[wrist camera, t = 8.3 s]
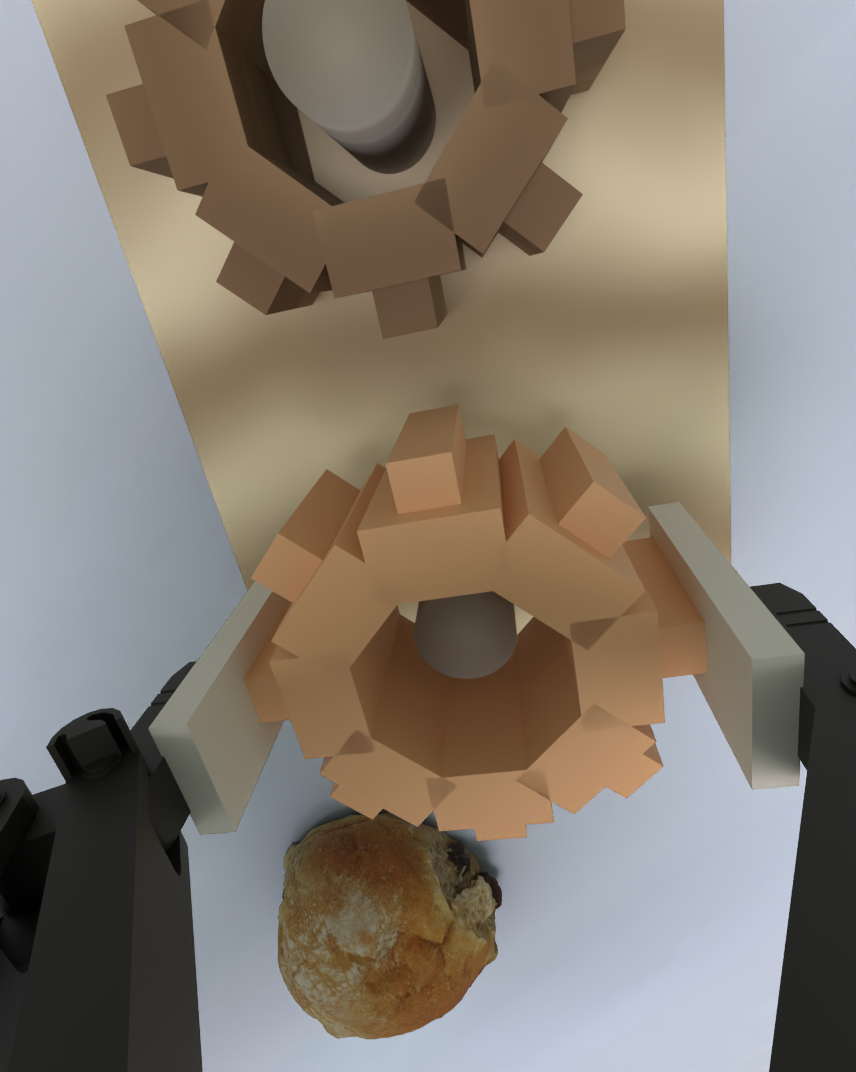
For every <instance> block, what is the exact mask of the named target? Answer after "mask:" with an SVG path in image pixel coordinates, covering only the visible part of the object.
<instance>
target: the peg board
mask: <svg viewBox="0 0 856 1072" xmlns="http://www.w3.org/2000/svg"><path fill="white" fill-rule="evenodd" d="M32 3H33V5H34V8H35V11H36V14H37V16H38V19H39V22H40V25H41V27H42V30H43V33H44V35H45V38H46V41H47V44H48V46H49V49H50V52H51V55H52V57H53V60H54V63H55V66H56V68H57V71H58V74H59V76H60V79H61V82H62V85H63V87H64V90H65V93H66V96H67V98H68V101H69V104H70V107H71V109H72V112H73V115H74V117H75V120H76V123H77V126H78V128H79V131H80V134H81V137H82V139H83V142H84V145H85V148H86V150H87V153H88V156H89V159H90V161H91V164H92V167H93V169H94V172H95V175H96V178H97V180H98V183H99V186H100V189H101V191H102V194H103V197H104V200H105V202H106V205H107V208H108V210H109V213H110V216H111V219H112V221H113V224H114V227H115V230H116V232H117V235H118V238H119V241H120V243H121V246H122V249H123V251H124V254H125V257H126V260H127V262H128V265H129V268H130V271H131V273H132V276H133V279H134V282H135V284H136V287H137V290H138V292H139V295H140V298H141V301H142V303H143V306H144V309H145V312H146V314H147V317H148V320H149V323H150V325H151V328H152V331H153V333H154V336H155V339H156V342H157V344H158V347H159V350H160V353H161V355H162V358H163V361H164V364H165V366H166V369H167V372H168V374H169V377H170V380H171V383H172V385H173V388H174V391H175V394H176V396H177V399H178V402H179V405H180V407H181V410H182V413H183V415H184V418H185V421H186V424H187V426H188V429H189V432H190V435H191V437H192V440H193V443H194V446H195V448H196V451H197V454H198V457H199V459H200V462H201V465H202V467H203V470H204V473H205V476H206V478H207V481H208V484H209V487H210V489H211V492H212V495H213V498H214V500H215V503H216V506H217V508H218V511H219V514H220V517H221V519H222V522H223V525H224V528H225V530H226V533H227V536H228V539H229V541H230V544H231V547H232V549H233V552H234V555H235V558H236V560H237V563H238V566H239V569H240V571H241V574H242V577H243V580H244V582H245V585H246V588H247V590H249V589H250V587H251V586H252V585H253V583H254V582H255V581H254V580H253V579H251V577H252V575H253V573H254V572H255V570H256V569H257V567H258V565H259V564H260V562H261V560H262V559H263V557H264V555H265V554H266V552H267V550H268V549H269V547H270V545H271V544H272V542H273V540H274V539H275V537H276V536H277V534H278V532H279V531H280V530H281V528H282V527H283V526H284V524H285V523H286V522H287V521H288V519H289V518H290V517H291V515H292V514H293V513H294V511H295V510H296V509H297V507H298V506H299V505H300V503H301V502H302V501H303V499H304V498H305V497H306V495H307V494H308V493H309V491H310V490H311V489H312V487H313V486H314V485H315V483H316V482H317V481H318V479H319V478H320V477H321V476H322V474H323V473H324V472H325V470H326V469H327V470H329V471H331V472H332V473H334V474H335V475H337V476H338V477H340V478H342V479H343V480H345V481H346V482H348V483H349V484H351V485H353V486H354V487H356V488H357V489H359V490H360V489H361V487H362V486H363V484H364V483H365V481H366V480H367V478H368V477H369V475H370V474H371V472H372V471H373V469H374V468H375V466H376V464H377V463H379V464H380V465H382V466H383V467H385V468H386V462H387V459H388V457H389V455H390V453H391V451H392V449H393V447H394V445H395V443H396V441H397V439H398V437H399V434H400V432H401V430H402V428H403V426H404V424H405V422H406V420H407V418H408V416H409V414H410V413H415V412H420V411H425V410H430V409H436V408H441V407H446V406H451V405H457V404H459V407H460V413H461V418H462V423H463V429H464V434H465V439H471V438H476V437H482V436H487V435H493V434H495V439H496V445H497V451H498V457H499V459H500V457H501V456H502V455H503V453H504V452H505V451H506V449H507V448H508V447H509V445H510V444H511V443H512V441H513V440H514V439H516V440H518V441H519V442H521V443H522V444H524V445H525V446H527V447H528V448H529V449H531V450H532V451H534V452H535V453H537V454H538V455H540V456H541V457H542V455H543V454H544V453H545V451H546V450H547V449H548V448H549V446H550V445H551V444H552V442H553V441H554V440H555V439H556V437H557V436H558V435H559V433H560V432H561V431H562V430H563V428H564V427H565V426H566V427H567V428H568V429H570V430H571V431H573V432H574V433H576V434H577V435H578V436H580V437H581V438H583V439H584V440H586V441H587V442H588V443H590V444H591V445H593V446H594V447H596V448H597V449H598V450H600V451H601V452H603V453H604V454H605V455H606V456H607V458H608V460H609V461H610V463H611V464H612V466H613V467H614V469H615V470H616V472H617V473H618V475H619V476H620V478H621V480H622V481H623V483H624V484H625V486H626V487H627V489H628V490H629V492H630V493H631V495H632V496H633V498H634V500H635V501H636V503H637V504H638V506H639V507H640V509H641V510H642V512H643V513H644V515H645V516H646V519H645V520H644V521H643V522H642V523H641V524H640V525H639V526H638V528H637V529H636V530H635V531H634V532H633V533H632V534H631V535H630V536H629V537H628V539H627V540H626V541H628V540H635V539H641V538H648V537H650V527H649V513H648V507H649V506H656V505H662V504H669V503H675V502H680V504H681V505H682V506H683V507H684V508H685V510H686V511H687V512H688V513H689V514H690V516H691V517H692V518H693V519H694V521H695V522H696V523H697V524H698V525H699V527H700V528H701V529H702V530H703V531H704V533H705V534H706V535H707V536H708V537H709V539H710V540H711V541H712V542H713V543H714V545H715V546H716V547H717V548H718V549H719V551H720V552H721V553H722V554H723V556H724V557H725V558H726V559H727V560H728V562H729V563H730V564H731V505H730V432H729V359H728V287H727V214H726V141H725V68H724V0H32ZM397 605H398V608H399V612H400V614H401V615H402V616H404V617H406V618H407V619H409V620H411V621H412V622H414V623H415V626H414V641H415V645H416V648H417V650H418V652H419V654H420V656H421V657H422V658H423V660H424V661H425V662H426V663H427V664H428V665H429V666H431V667H432V668H433V669H435V670H436V671H438V672H440V673H442V674H445V675H447V676H451V677H454V678H461V679H472V678H479V677H483V676H486V675H489V674H491V673H493V672H495V671H497V670H498V669H500V668H501V667H502V666H503V665H504V664H505V663H506V662H507V661H508V660H509V659H510V657H511V656H512V654H513V652H514V649H515V647H516V642H517V634H518V633H519V632H520V631H521V630H522V629H523V628H524V627H525V625H526V624H527V623H528V622H529V621H530V620H531V619H532V618H533V616H532V615H530V614H529V613H527V612H525V611H524V610H522V609H521V608H519V607H518V606H516V605H514V604H513V603H511V602H510V601H508V600H506V599H505V598H503V597H502V596H500V595H498V594H497V593H495V592H494V591H490V592H483V593H476V594H468V595H461V596H454V597H447V598H440V599H433V600H425V601H418V602H411V603H404V604H397Z"/></svg>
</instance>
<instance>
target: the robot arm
mask: <svg viewBox="0 0 856 1072" xmlns="http://www.w3.org/2000/svg"><path fill="white" fill-rule="evenodd" d="M648 513H649V527H650V537H653V539H654V540H655V542H656V544H657V545H658V547H659V548H660V550H661V552H662V553H663V555H664V556H665V558H666V560H667V561H668V563H669V565H670V566H671V568H672V569H673V571H674V573H675V574H676V576H677V578H678V579H679V581H680V582H681V584H682V586H683V587H684V589H685V591H686V592H687V594H688V595H689V597H690V599H691V600H692V602H693V603H694V605H695V607H696V608H697V610H698V612H699V613H700V615H701V616H702V618H703V620H704V621H705V634H706V666H707V673H702V674H693V675H694V677H695V679H696V681H697V683H698V685H699V687H700V689H701V691H702V693H703V695H704V697H705V699H706V701H707V703H708V705H709V707H710V708H711V710H712V712H713V714H714V716H715V718H716V720H717V722H718V724H719V726H720V728H721V730H722V732H723V734H724V736H725V738H726V740H727V742H728V744H729V746H730V748H731V749H732V751H733V753H734V755H735V757H736V759H737V761H738V763H739V765H740V767H741V769H742V771H743V773H744V775H745V777H746V779H747V781H748V783H749V785H750V787H751V789H752V790H753V789H765V788H777V787H789V786H799V776H800V760H801V762H802V763H803V765H804V767H805V768H806V770H807V777H806V785H805V793H804V801H803V809H802V817H801V825H800V833H799V841H798V848H797V856H796V864H795V872H794V880H793V888H792V896H791V904H790V912H789V919H788V927H787V935H786V943H785V951H784V959H783V967H782V975H781V982H780V990H779V998H778V1006H777V1014H776V1022H775V1030H774V1038H773V1046H772V1053H771V1061H770V1069H769V1072H856V649H855V647H854V646H853V645H852V644H851V643H850V642H849V641H848V640H847V639H846V638H845V637H844V636H843V635H842V634H841V633H840V632H839V631H838V630H837V629H836V628H835V627H834V626H833V625H832V624H831V623H828V620H827V619H826V618H825V617H824V616H823V615H822V614H821V613H820V611H817V610H816V607H815V606H814V605H813V604H812V603H811V602H810V601H809V600H808V599H807V598H806V597H805V596H804V595H803V594H802V593H800V592H798V591H796V590H793V589H791V588H789V587H787V586H785V585H783V584H781V583H775V584H767V585H760V586H752V587H749V586H748V585H747V583H746V582H745V581H744V580H743V578H742V577H741V576H740V575H739V574H738V572H737V571H736V570H735V569H734V568H733V566H732V565H731V564H730V563H729V562H728V560H727V559H726V558H725V557H724V556H723V554H722V553H721V552H720V551H719V549H718V548H717V547H716V546H715V545H714V543H713V542H712V541H711V540H710V539H709V537H708V536H707V535H706V534H705V533H704V531H703V530H702V529H701V528H700V527H699V525H698V524H697V523H696V522H695V521H694V519H693V518H692V517H691V516H690V514H689V513H688V512H687V511H686V510H685V508H684V507H683V506H682V505H681V504H680V502H675V503H669V504H662V505H656V506H649V507H648ZM288 602H289V600H287V599H285V598H283V597H282V596H280V595H278V594H277V593H275V592H273V591H272V590H270V589H268V588H266V587H265V586H263V585H261V584H260V583H258V582H256V581H255V582H254V583H253V585H252V586H251V587H250V589H249V590H248V591H247V593H246V594H245V596H244V597H243V598H242V600H241V601H240V602H239V604H238V605H237V607H236V608H235V609H234V611H233V612H232V614H231V615H230V616H229V618H228V619H227V620H226V622H225V623H224V625H223V626H222V627H221V629H220V630H219V631H218V633H217V634H216V636H215V637H214V638H213V640H212V641H211V642H210V644H209V645H208V647H207V648H206V649H205V651H204V652H203V653H202V655H201V656H200V658H199V659H198V660H197V661H195V662H189V663H188V664H187V665H185V666H184V667H183V668H182V669H180V670H179V671H178V672H177V673H175V674H174V675H173V676H172V677H171V678H170V679H169V681H168V682H167V683H166V684H165V686H164V687H163V688H162V690H161V691H160V692H161V693H160V694H158V695H157V696H156V698H155V699H154V700H153V702H152V703H151V706H150V707H148V708H147V709H146V711H145V712H144V713H143V715H142V716H141V717H140V719H139V720H138V721H137V723H136V724H135V725H134V727H133V728H132V729H131V731H130V730H129V728H128V726H127V724H126V722H125V720H124V718H123V716H122V714H121V712H120V711H119V710H116V709H114V708H108V709H100V710H96V711H93V712H90V713H87V714H85V715H83V716H81V717H79V718H77V719H75V720H73V721H72V722H70V723H69V724H67V725H66V726H64V727H63V728H61V729H60V730H59V731H58V732H57V733H56V734H55V735H54V736H53V737H52V738H51V740H50V742H49V744H48V745H47V747H46V748H47V749H48V751H49V753H50V755H51V756H52V758H53V760H54V762H55V763H56V765H57V767H58V768H59V770H60V772H61V774H62V775H63V777H64V779H65V781H66V784H64V785H61V786H58V787H55V788H52V789H49V790H46V791H43V792H40V793H37V794H34V795H32V794H31V792H30V790H29V789H28V787H27V786H26V784H25V782H24V781H23V780H21V779H17V778H11V779H5V780H1V781H0V1072H202V1057H201V1041H200V1026H199V1011H198V996H197V980H196V965H195V950H194V935H193V919H192V904H191V889H190V874H189V858H188V846H187V844H186V841H185V839H184V837H183V835H182V833H181V829H182V827H183V825H184V823H185V821H186V820H187V818H188V816H189V814H190V815H191V817H192V819H193V821H194V823H195V825H196V827H197V829H198V831H199V833H200V835H203V834H215V833H227V832H235V831H236V829H237V827H238V824H239V822H240V820H241V817H242V815H243V813H244V811H245V808H246V806H247V804H248V801H249V799H250V797H251V795H252V792H253V790H254V788H255V786H256V783H257V781H258V779H259V776H260V774H261V772H262V770H263V767H264V765H265V763H266V760H267V758H268V756H269V754H270V751H271V749H272V747H273V745H274V742H275V740H276V738H277V735H278V733H279V731H280V729H281V726H282V724H283V722H284V721H275V722H267V723H261V722H260V719H259V717H258V714H257V712H256V709H255V707H254V704H253V702H252V699H251V697H250V694H249V692H248V689H247V687H246V684H245V682H244V679H245V677H246V675H247V673H248V672H249V670H250V668H251V667H252V665H253V663H254V661H255V660H256V658H257V656H258V654H259V653H260V651H261V649H262V647H263V646H264V644H265V642H266V640H267V639H268V637H269V635H270V633H271V632H272V630H273V628H274V626H275V625H276V623H277V621H278V619H279V618H280V616H281V614H282V612H283V611H284V609H285V607H286V606H287V604H288Z"/></svg>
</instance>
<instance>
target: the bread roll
mask: <svg viewBox="0 0 856 1072" xmlns="http://www.w3.org/2000/svg"><path fill="white" fill-rule="evenodd" d="M284 869H285V870H286V873H285V875H284V876H285V882H284V883H283V885H284V887H285V888H284V891H283V897H282V898H283V901H282V903H281V905H280V907H279V916H278V919H279V930H278V963H279V969H280V972H281V974H282V977H283V980H284V982H285V984H286V985H287V988H288V990H289V991H290V993H291V994H292V996H293V998H294V999H295V1001H296V1002H297V1003H298V1004H299V1005H300V1006H301V1008H302V1009H303V1011H305V1012H306V1013H307V1014H309V1015H310V1016H312V1017H313V1018H315V1019H317V1020H318V1021H319V1022H321V1023H322V1025H323V1026H324V1028H325V1030H326V1031H327V1032H328V1033H329V1034H331V1035H332V1036H334V1037H336V1038H337V1039H338V1038H345V1037H359V1038H364V1039H378V1038H388V1037H393V1036H396V1035H402V1034H405V1033H408V1032H412V1031H414V1030H417V1029H419V1028H421V1027H423V1026H425V1025H426V1024H428V1023H430V1022H431V1021H433V1020H435V1019H438V1018H442V1017H443V1016H444V1015H445V1014H446V1013H447V1012H449V1011H450V1010H452V1009H453V1008H454V1007H455V1006H456V1005H457V1004H458V1003H459V1002H460V1001H461V1000H462V998H463V997H464V995H465V993H466V992H467V990H468V988H469V987H471V985H472V983H473V982H474V981H475V979H476V978H477V976H478V975H479V974H480V973H481V972H482V970H483V968H484V967H485V966H486V965H488V964H489V963H491V962H492V961H494V960H495V958H496V956H497V954H498V950H497V945H496V942H495V932H496V926H495V910H496V909H497V908H499V907H500V906H501V903H502V891H501V888H500V886H499V885H498V881H497V880H496V879H495V878H493V877H491V876H489V875H488V873H486V872H482V871H481V869H480V867H479V862H478V860H477V858H476V857H475V855H474V854H473V853H471V852H470V851H469V850H467V849H466V847H465V846H464V845H463V844H462V843H461V842H459V841H456V840H454V839H452V838H451V837H449V836H448V835H447V834H446V833H444V832H443V831H439V829H437V828H435V827H432V826H429V825H426V824H420V825H419V826H418V827H417V826H415V825H413V824H411V823H409V822H407V821H405V820H404V819H402V818H400V817H398V816H396V815H394V814H392V813H388V812H385V813H383V814H377V815H376V817H375V818H374V819H373V820H372V819H371V818H369V817H367V816H365V815H348V816H347V817H344V818H342V819H339V820H335V821H331V822H329V823H326V824H323V825H321V826H319V827H317V828H314V829H312V830H310V832H309V833H308V834H307V835H306V836H305V837H304V839H303V840H302V841H301V842H300V843H299V844H295V843H293V844H292V845H291V846H290V849H289V850H288V852H287V853H286V854H285V857H284Z"/></svg>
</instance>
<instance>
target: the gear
mask: <svg viewBox="0 0 856 1072" xmlns="http://www.w3.org/2000/svg"><path fill="white" fill-rule="evenodd" d="M645 519H646V516H645V515H644V513H643V512H642V510H641V509H640V507H639V506H638V504H637V503H636V501H635V500H634V498H633V496H632V495H631V493H630V492H629V490H628V489H627V487H626V486H625V484H624V483H623V481H622V480H621V478H620V476H619V475H618V473H617V472H616V470H615V469H614V467H613V466H612V464H611V463H610V461H609V460H608V458H607V456H606V455H605V454H604V453H603V452H601V451H600V450H598V449H597V448H596V447H594V446H593V445H591V444H590V443H588V442H587V441H586V440H584V439H583V438H581V437H580V436H578V435H577V434H576V433H574V432H573V431H571V430H570V429H568V428H567V427H566V426H565V427H564V428H563V430H562V431H561V432H560V433H559V435H558V436H557V437H556V439H555V440H554V441H553V442H552V444H551V445H550V446H549V448H548V449H547V450H546V451H545V453H544V454H543V455H542V457H541V456H540V455H538V454H537V453H535V452H534V451H532V450H531V449H529V448H528V447H527V446H525V445H524V444H522V443H521V442H519V441H518V440H516V439H514V440H513V441H512V443H511V444H510V445H509V447H508V448H507V449H506V451H505V452H504V453H503V455H502V456H501V457H500V459H499V457H498V451H497V445H496V439H495V434H493V435H487V436H482V437H476V438H471V439H465V434H464V429H463V423H462V418H461V413H460V407H459V404H457V405H451V406H446V407H441V408H436V409H430V410H425V411H420V412H415V413H410V414H409V416H408V418H407V420H406V422H405V424H404V426H403V428H402V430H401V432H400V434H399V437H398V439H397V441H396V443H395V445H394V447H393V449H392V451H391V453H390V455H389V457H388V459H387V462H386V468H385V467H383V466H382V465H380V464H379V463H377V464H376V466H375V468H374V469H373V471H372V472H371V474H370V475H369V477H368V478H367V480H366V481H365V483H364V484H363V486H362V487H361V489H360V490H359V489H357V488H356V487H354V486H353V485H351V484H349V483H348V482H346V481H345V480H343V479H342V478H340V477H338V476H337V475H335V474H334V473H332V472H331V471H329V470H327V469H326V470H325V472H324V473H323V474H322V476H321V477H320V478H319V479H318V481H317V482H316V483H315V485H314V486H313V487H312V489H311V490H310V491H309V493H308V494H307V495H306V497H305V498H304V499H303V501H302V502H301V503H300V505H299V506H298V507H297V509H296V510H295V511H294V513H293V514H292V515H291V517H290V518H289V519H288V521H287V522H286V523H285V524H284V526H283V527H282V528H281V530H280V531H279V532H278V534H277V536H276V537H275V539H274V540H273V542H272V544H271V545H270V547H269V549H268V550H267V552H266V554H265V555H264V557H263V559H262V560H261V562H260V564H259V565H258V567H257V569H256V570H255V572H254V573H253V575H252V577H251V579H253V580H254V581H256V582H258V583H260V584H261V585H263V586H265V587H266V588H268V589H270V590H272V591H273V592H275V593H277V594H278V595H280V596H282V597H283V598H285V599H287V600H289V602H288V604H287V606H286V607H285V609H284V611H283V612H282V614H281V616H280V618H279V619H278V621H277V623H276V625H275V626H274V628H273V630H272V632H271V633H270V635H269V637H268V639H267V640H266V642H265V644H264V646H263V647H262V649H261V651H260V653H259V654H258V656H257V658H256V660H255V661H254V663H253V665H252V667H251V668H250V670H249V672H248V673H247V675H246V677H245V679H244V682H245V684H246V687H247V689H248V692H249V694H250V697H251V699H252V702H253V704H254V707H255V709H256V712H257V714H258V717H259V719H260V722H261V723H267V722H275V721H284V720H291V722H292V725H293V728H294V731H295V733H296V736H297V739H298V741H299V744H300V747H301V749H302V752H303V755H304V757H305V759H311V758H321V757H325V758H324V761H323V764H322V767H321V771H320V775H322V776H323V777H325V778H327V779H329V780H331V781H333V782H334V784H333V787H332V791H331V794H330V797H331V798H333V799H335V800H337V801H339V802H340V803H342V804H344V805H346V806H348V807H350V808H352V809H354V810H355V811H357V812H359V813H361V814H363V815H365V816H367V817H369V818H371V819H372V820H373V819H374V818H375V817H376V815H377V814H378V813H379V812H380V811H381V810H382V809H385V810H387V811H389V812H391V813H392V814H394V815H396V816H398V817H400V818H402V819H404V820H405V821H407V822H409V823H411V824H413V825H415V826H417V827H418V826H419V825H420V824H421V823H422V822H423V821H424V820H425V819H426V818H427V817H428V816H429V815H430V814H431V813H432V811H434V814H435V818H436V822H437V825H438V829H439V831H451V830H464V829H474V830H475V834H476V839H477V841H484V840H497V839H510V838H524V837H527V830H526V825H527V824H540V823H553V822H554V819H553V811H552V804H551V801H552V802H554V803H555V804H557V805H559V806H561V807H562V808H564V809H566V810H568V811H569V812H571V813H573V814H575V813H576V812H578V811H579V810H580V809H581V808H582V807H583V806H584V805H585V804H587V803H588V802H589V801H590V800H591V799H592V798H593V797H594V796H596V795H597V794H598V793H599V792H600V791H601V790H602V789H603V788H605V787H608V788H609V789H611V790H613V791H615V792H616V793H618V794H620V795H621V796H623V797H625V798H628V797H629V796H630V795H631V794H632V793H633V792H634V791H636V790H637V789H638V788H639V787H640V786H641V785H643V784H644V783H645V782H646V781H647V780H648V779H650V778H651V777H652V776H653V775H654V774H655V773H657V772H658V771H659V770H660V769H661V768H662V767H663V764H662V761H661V758H660V756H659V753H658V750H657V747H656V745H655V742H656V739H655V737H654V734H653V731H652V729H651V726H650V724H656V723H665V714H664V699H663V684H662V678H667V677H675V676H684V675H693V674H702V673H707V666H706V634H705V621H704V620H703V618H702V616H701V615H700V613H699V612H698V610H697V608H696V607H695V605H694V603H693V602H692V600H691V599H690V597H689V595H688V594H687V592H686V591H685V589H684V587H683V586H682V584H681V582H680V581H679V579H678V578H677V576H676V574H675V573H674V571H673V569H672V568H671V566H670V565H669V563H668V561H667V560H666V558H665V556H664V555H663V553H662V552H661V550H660V548H659V547H658V545H657V544H656V542H655V540H654V539H653V537H648V538H641V539H635V540H628V541H626V540H627V539H628V537H629V536H630V535H631V534H632V533H633V532H634V531H635V530H636V529H637V528H638V526H639V525H640V524H641V523H642V522H643V521H644V520H645ZM490 591H494V592H495V593H497V594H498V595H500V596H502V597H503V598H505V599H506V600H508V601H510V602H511V603H513V604H514V605H516V606H518V607H519V608H521V609H522V610H524V611H525V612H527V613H529V614H530V615H532V616H533V618H532V619H531V620H530V621H529V622H528V623H527V624H526V625H525V627H524V628H523V629H522V630H521V631H520V632H519V633H518V634H517V642H516V647H515V649H514V652H513V654H512V656H511V657H510V659H509V660H508V661H507V662H506V663H505V664H504V665H503V666H502V667H501V668H500V669H498V670H497V671H495V672H493V673H491V674H489V675H486V676H483V677H479V678H472V679H461V678H454V677H451V676H447V675H445V674H442V673H440V672H438V671H436V670H435V669H433V668H432V667H431V666H429V665H428V664H427V663H426V662H425V661H424V660H423V658H422V657H421V656H420V654H419V652H418V650H417V648H416V645H415V641H414V626H415V623H414V622H412V621H411V620H409V619H407V618H406V617H404V616H402V615H401V614H400V612H399V608H398V605H397V604H404V603H411V602H418V601H425V600H433V599H440V598H447V597H454V596H461V595H468V594H476V593H483V592H490Z"/></svg>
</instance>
